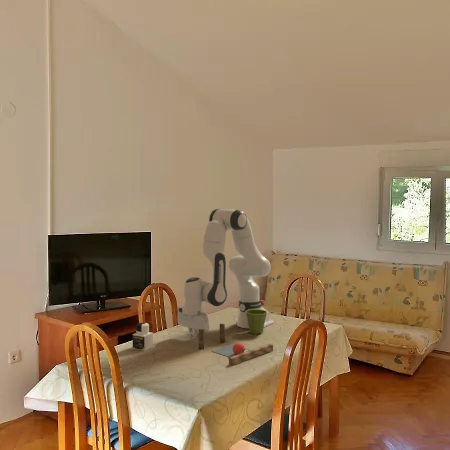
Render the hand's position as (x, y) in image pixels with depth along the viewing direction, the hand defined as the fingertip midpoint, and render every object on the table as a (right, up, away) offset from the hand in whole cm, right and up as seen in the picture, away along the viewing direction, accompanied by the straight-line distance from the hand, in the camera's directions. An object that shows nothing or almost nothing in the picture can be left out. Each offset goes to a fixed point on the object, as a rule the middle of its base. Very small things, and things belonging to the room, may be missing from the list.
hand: (193, 336), depth 254 cm
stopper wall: (+28, -3, -27) cm, 39 cm away
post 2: (+15, -2, -3) cm, 15 cm away
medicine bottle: (-24, -3, -12) cm, 27 cm away
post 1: (+5, -3, -14) cm, 15 cm away
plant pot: (+33, -1, +14) cm, 36 cm away
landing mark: (+20, -3, -18) cm, 27 cm away
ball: (+22, 0, -24) cm, 33 cm away
